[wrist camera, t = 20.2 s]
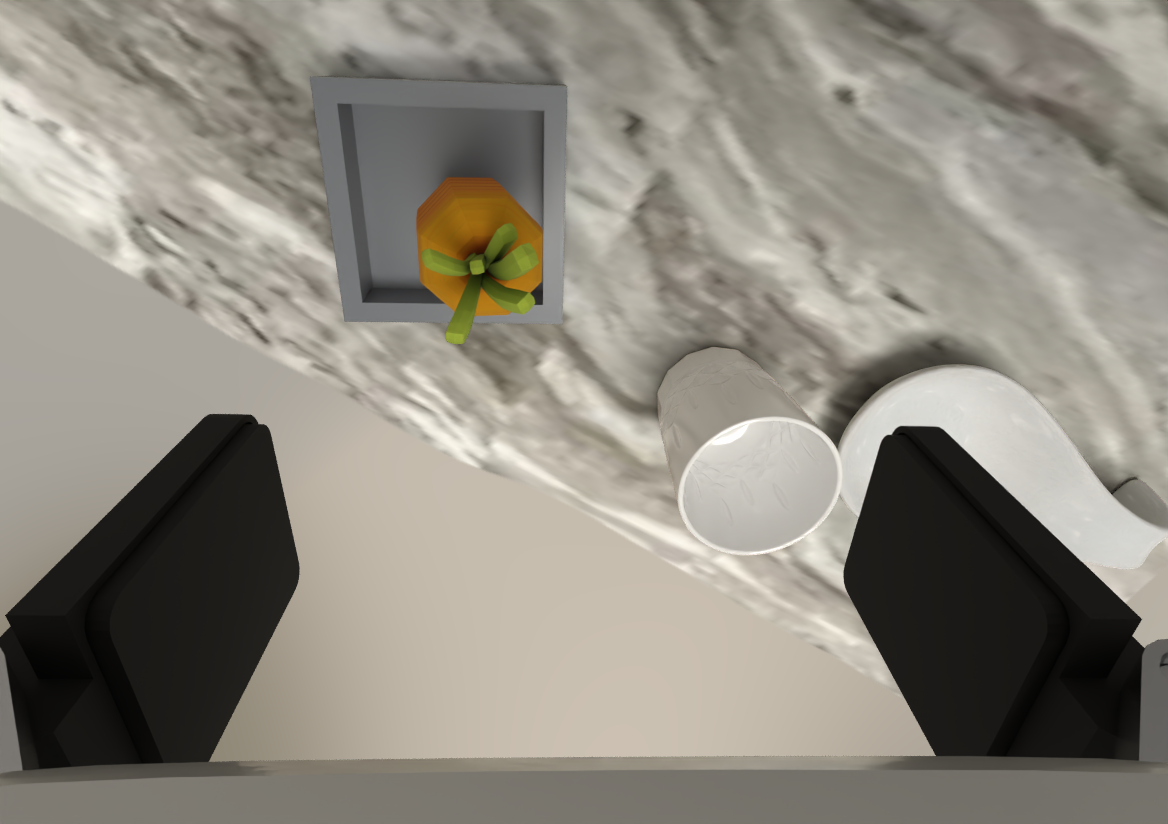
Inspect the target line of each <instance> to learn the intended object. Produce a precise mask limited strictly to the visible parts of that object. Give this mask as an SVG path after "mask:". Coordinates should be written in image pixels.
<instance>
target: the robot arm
mask: <svg viewBox="0 0 1168 824" xmlns="http://www.w3.org/2000/svg"><path fill="white" fill-rule="evenodd" d="M298 580H299V561H298V556H297V552H296V547H295V543H294V538H293V534H292V529H291V524H290V520H289V515H288V511H287V506H286V501H285V497H284V492H283V488H282V483H281V478H280V474H279V470H278V465H277V460H276V456H275V451H274V446H273V442H272V437H271V433H270V430H269V428H268V427H267V426H266V425H264V424H258V422H257V420H256V419H255V418H254V417H253V416H252V415H242V414H209V415H207V416H206V417H204V418H203V419H202V420H201V421H200V422H199V423H198V424H197V425H196V426H195V427H194V428H193V429H192V430H191V431H190V433H188V434H187V435H186V436H185V437H184V438H183V439H182V440H181V441H180V442H179V443H178V444H177V445H176V446H175V447H174V448H173V449H172V450H171V451H170V452H169V453H168V454H167V455H166V456H165V457H164V458H163V459H162V460H161V461H160V462H159V463H158V464H157V465H156V466H155V467H154V468H153V469H152V470H151V471H150V472H149V473H148V474H147V475H146V476H145V477H144V478H143V479H142V480H141V481H140V482H139V483H138V484H137V485H136V486H135V487H134V488H133V489H132V490H131V491H130V492H129V493H128V494H127V495H126V496H125V497H124V498H123V499H122V500H121V501H120V502H119V503H118V504H117V505H116V506H115V507H114V508H113V509H112V510H111V511H110V512H109V513H108V514H107V515H106V516H105V517H104V518H103V519H102V520H101V521H100V522H99V523H98V524H97V525H96V526H95V527H94V528H93V529H92V530H91V531H90V532H89V533H88V534H87V535H86V536H85V537H84V538H83V539H82V540H81V541H80V542H79V543H78V544H77V545H76V546H75V547H74V548H73V549H72V550H71V551H70V552H69V553H68V554H67V555H66V556H64V558H62V559H61V560H60V562H58V563H57V564H56V566H54V567H53V568H52V569H51V570H50V571H49V572H48V574H47V575H45V576H44V577H43V578H42V579H41V580H40V581H39V582H38V583H37V584H36V585H35V586H34V587H33V588H32V589H31V590H30V591H29V592H28V593H27V594H26V596H24V597H23V598H22V599H21V600H20V601H19V602H18V603H17V604H16V605H15V606H14V607H13V608H12V609H11V610H10V611H9V612H8V614H6V615H5V616H6V618H7V620H8V621H9V624H10V626H11V627H10V628H9V629H8V630H7V631H6V632H5V633H4V634H3V635H2V636H1V637H0V824H1168V639H1162V640H1157V641H1155V642H1153V643H1151V644H1149V645H1147V646H1146V647H1145V648H1144V647H1143V646H1142V645H1140V643H1139V642H1137V640H1136V639H1135V638H1134V637H1132V635H1133V633H1134V632H1135V630H1136V628H1137V627H1138V625H1139V623H1140V622H1141V620H1142V619H1141V618H1140V617H1139V616H1138V615H1137V614H1136V613H1135V612H1134V611H1133V610H1132V609H1131V608H1130V607H1129V606H1127V604H1126V603H1124V602H1123V601H1122V600H1121V599H1120V598H1119V597H1118V596H1117V595H1116V594H1115V593H1114V592H1113V591H1112V590H1111V589H1110V588H1109V587H1108V586H1107V585H1106V584H1105V583H1104V582H1102V581H1101V580H1100V579H1099V578H1098V577H1097V576H1096V575H1095V574H1094V573H1093V572H1092V571H1091V570H1090V569H1089V568H1088V567H1087V566H1086V565H1085V564H1084V563H1083V562H1082V561H1081V560H1079V559H1078V558H1077V557H1076V556H1075V555H1074V554H1073V553H1072V552H1071V551H1070V550H1069V549H1068V548H1067V547H1066V546H1065V545H1064V544H1063V543H1062V542H1061V541H1060V540H1059V539H1058V538H1056V537H1055V536H1054V535H1053V534H1052V533H1051V532H1050V531H1049V530H1048V529H1047V528H1046V527H1045V526H1044V525H1043V524H1042V523H1041V522H1040V521H1039V520H1038V519H1037V518H1036V517H1035V516H1033V515H1032V514H1031V513H1030V512H1029V511H1028V510H1027V509H1026V508H1025V507H1024V506H1023V505H1022V504H1021V503H1020V502H1019V501H1018V500H1017V499H1016V498H1015V497H1014V496H1013V495H1012V494H1010V493H1009V492H1008V491H1007V490H1006V489H1005V488H1004V487H1003V486H1002V485H1001V484H1000V483H999V482H998V481H997V480H996V479H995V478H994V477H993V476H992V475H991V474H990V473H988V472H987V471H986V470H985V469H984V468H983V467H982V466H981V465H980V464H979V463H978V462H977V461H976V460H975V459H974V458H973V457H972V456H971V455H970V454H969V453H968V452H967V451H965V450H964V449H963V448H962V447H961V446H960V445H959V444H958V443H957V442H956V441H955V440H954V439H953V438H952V437H951V436H950V435H949V434H948V433H947V432H946V431H945V430H943V429H942V428H940V427H936V426H899V427H897V428H896V429H895V430H894V432H893V433H892V435H886V436H885V437H884V438H883V439H882V441H881V444H880V447H879V450H878V453H877V457H876V460H875V464H874V467H873V471H872V474H871V477H870V481H869V484H868V488H867V491H866V495H865V498H864V501H863V505H862V508H861V512H860V515H859V519H858V522H857V525H856V529H855V532H854V536H853V539H852V543H851V546H850V549H849V553H848V556H847V560H846V563H845V567H844V584H845V588H846V590H847V593H848V595H849V596H850V598H851V600H852V602H853V604H854V606H855V607H856V609H857V611H858V613H859V615H860V617H861V618H862V620H863V622H864V624H865V626H866V628H867V630H868V631H869V633H870V635H871V637H872V639H873V641H874V642H875V644H876V646H877V648H878V650H879V652H880V654H881V655H882V657H883V659H884V661H885V663H886V665H887V666H888V668H889V670H890V672H891V674H892V676H893V678H894V679H895V681H896V683H897V685H898V687H899V689H900V690H901V692H902V694H903V696H904V698H905V700H906V702H907V703H908V705H909V707H910V709H911V711H912V712H913V714H914V716H915V718H916V720H917V721H918V723H919V725H920V727H921V729H922V731H923V733H924V735H925V736H926V738H927V740H928V742H929V744H930V746H931V748H932V749H933V751H934V753H935V755H936V756H735V757H734V756H729V757H728V756H726V757H724V756H720V757H719V756H717V757H565V758H564V757H555V758H449V759H447V758H442V759H363V760H362V759H361V760H359V759H358V760H278V761H276V760H275V761H229V762H209V760H210V758H211V756H212V754H213V752H214V750H215V748H216V746H217V744H218V742H219V740H220V738H221V736H222V734H223V732H224V730H225V728H226V726H227V724H228V722H229V720H230V718H231V716H232V714H233V712H234V710H235V708H236V706H237V704H238V703H239V700H240V698H241V696H242V694H243V692H244V691H245V689H246V687H247V685H248V682H249V681H250V679H251V676H252V675H253V673H254V671H255V669H256V667H257V665H258V663H259V661H260V659H261V657H262V655H263V653H264V651H265V649H266V647H267V645H268V643H269V641H270V639H271V637H272V635H273V633H274V631H275V629H276V627H277V625H278V623H279V621H280V619H281V617H282V615H283V613H284V611H285V609H286V607H287V605H288V603H289V601H290V599H291V597H292V595H293V593H294V591H295V589H296V587H297V584H298Z"/></svg>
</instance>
